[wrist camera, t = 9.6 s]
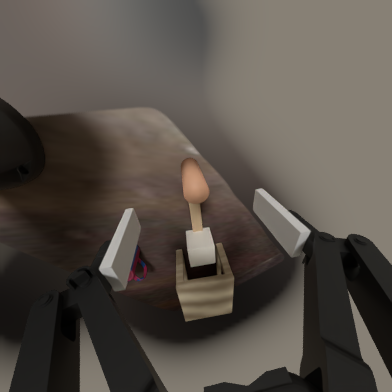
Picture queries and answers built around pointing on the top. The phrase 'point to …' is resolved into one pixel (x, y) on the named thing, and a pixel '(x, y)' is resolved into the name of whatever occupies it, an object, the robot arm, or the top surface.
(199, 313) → the wooden holder
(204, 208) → the top surface
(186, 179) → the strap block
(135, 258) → the mug
